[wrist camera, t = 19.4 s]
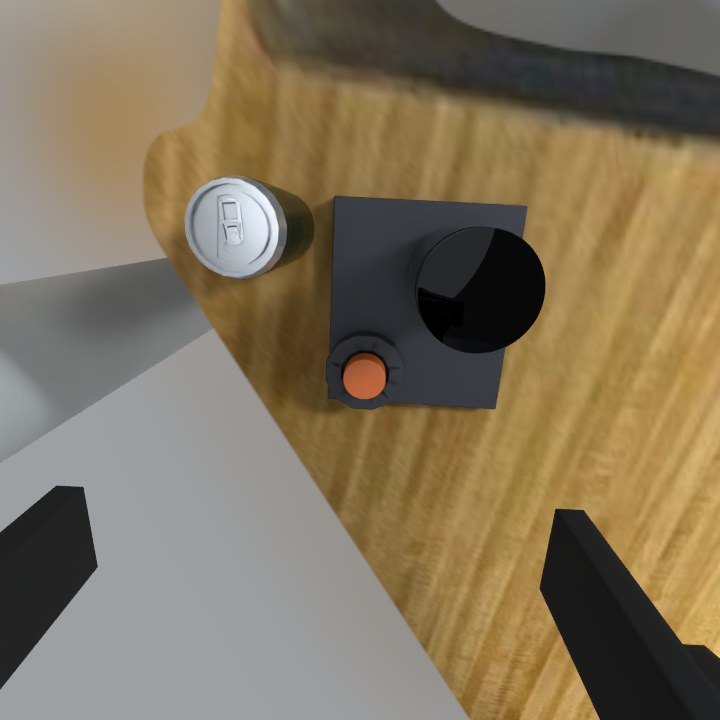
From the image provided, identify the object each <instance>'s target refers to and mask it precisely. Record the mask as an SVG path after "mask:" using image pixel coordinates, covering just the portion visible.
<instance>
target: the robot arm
mask: <svg viewBox="0 0 720 720" xmlns="http://www.w3.org/2000/svg"><path fill="white" fill-rule="evenodd" d="M97 567H98V566H97V560H96V555H95V549H94V544H93V538H92V532H91V527H90V521H89V516H88V510H87V504H86V499H85V494H84V488H83V487H72V486H71V487H70V486H55V487H54V488H53V489H52V490H51V491H49V492H48V493H47V494H46V495H45V496H43V497H42V498H41V499H40V500H39V501H37V502H36V503H35V504H34V505H33V506H31V507H30V508H29V509H28V510H27V511H25V512H24V513H23V514H22V515H21V516H20V517H18V518H17V519H16V520H15V521H13V522H12V523H11V524H10V525H9V526H7V527H6V528H5V529H4V530H3V531H1V532H0V689H1V688H2V687H3V685H4V684H5V683H6V682H7V680H8V679H9V678H10V676H11V675H12V674H13V673H14V672H15V670H16V669H17V668H18V667H19V665H20V664H21V663H22V662H23V660H24V659H25V658H26V657H27V655H28V654H29V653H30V651H31V650H32V649H33V648H34V646H35V645H36V644H37V643H38V641H39V640H40V639H41V638H42V636H43V635H44V634H45V633H46V631H47V630H48V629H49V628H50V626H51V625H52V624H53V622H54V621H55V620H56V619H57V618H58V616H59V615H60V614H61V612H62V611H63V610H64V609H65V607H66V606H67V605H68V604H69V602H70V601H71V600H72V599H73V597H74V596H75V595H76V594H77V592H78V591H79V590H80V589H81V587H82V586H83V585H84V584H85V582H86V581H87V580H88V579H89V577H90V576H91V575H92V573H93V572H94V571H95V570H96V568H97ZM540 591H541V593H542V595H543V597H544V599H545V601H546V604H547V606H548V608H549V610H550V612H551V614H552V617H553V619H554V621H555V623H556V625H557V627H558V630H559V632H560V634H561V636H562V638H563V640H564V643H565V645H566V647H567V649H568V651H569V654H570V656H571V658H572V660H573V662H574V664H575V667H576V669H577V671H578V673H579V675H580V677H581V680H582V682H583V684H584V686H585V688H586V690H587V693H588V695H589V697H590V699H591V701H592V703H593V706H594V708H595V710H596V712H597V714H598V716H599V719H600V720H720V658H719V657H718V656H716V655H715V654H714V653H713V652H712V651H710V650H709V649H708V648H707V647H706V646H704V645H687V644H682V643H681V641H680V640H679V639H678V637H677V636H676V635H675V633H674V632H673V630H672V629H671V628H670V626H669V625H668V624H667V622H666V621H665V620H664V618H663V617H662V616H661V614H660V613H659V612H658V610H657V609H656V607H655V606H654V605H653V603H652V602H651V601H650V599H649V598H648V597H647V595H646V594H645V593H644V591H643V590H642V589H641V587H640V586H639V584H638V583H637V582H636V580H635V579H634V578H633V576H632V575H631V574H630V572H629V571H628V570H627V568H626V567H625V566H624V564H623V563H622V561H621V560H620V559H619V557H618V556H617V555H616V553H615V552H614V551H613V549H612V548H611V547H610V545H609V544H608V543H607V541H606V540H605V538H604V537H603V536H602V534H601V533H600V532H599V530H598V529H597V528H596V526H595V525H594V524H593V522H592V521H591V520H590V518H589V517H588V515H587V514H586V513H585V511H584V510H570V509H555V514H554V519H553V524H552V529H551V534H550V539H549V544H548V549H547V554H546V559H545V564H544V569H543V574H542V579H541V584H540Z"/></svg>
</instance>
